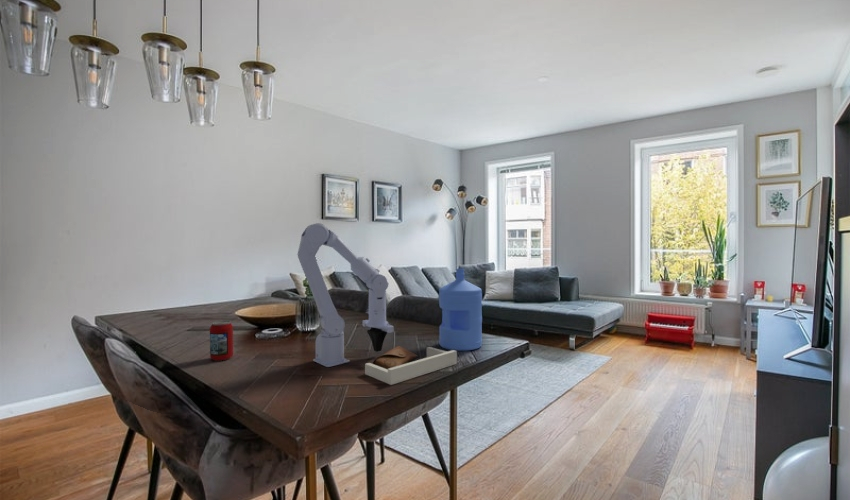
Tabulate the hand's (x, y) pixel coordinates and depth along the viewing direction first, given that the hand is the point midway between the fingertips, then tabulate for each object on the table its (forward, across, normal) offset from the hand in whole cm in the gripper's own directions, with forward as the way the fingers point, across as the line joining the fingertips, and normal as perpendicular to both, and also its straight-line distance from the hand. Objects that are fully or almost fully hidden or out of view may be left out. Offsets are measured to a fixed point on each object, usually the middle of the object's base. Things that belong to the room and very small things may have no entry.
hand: (377, 350), depth 132 cm
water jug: (+2, -10, -30) cm, 32 cm away
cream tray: (+2, -17, 0) cm, 18 cm away
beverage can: (+2, +34, +38) cm, 51 cm away
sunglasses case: (+3, -9, 0) cm, 10 cm away
